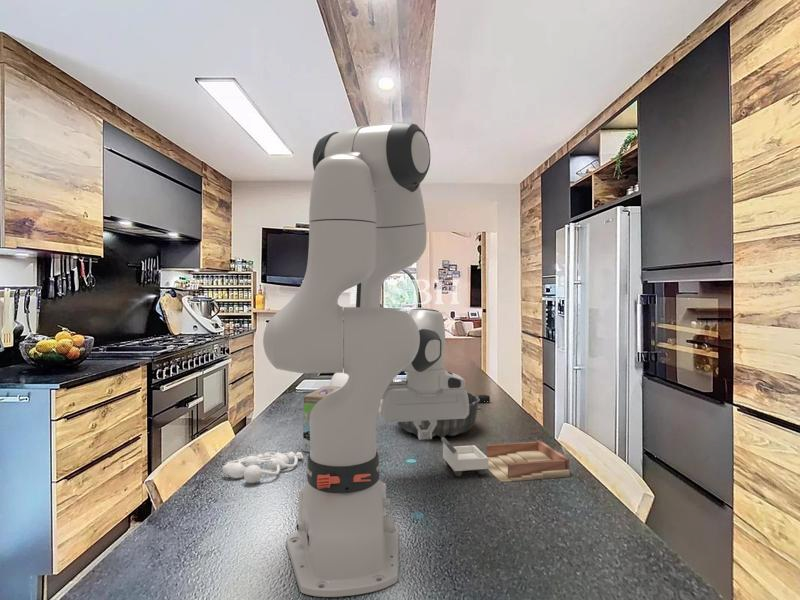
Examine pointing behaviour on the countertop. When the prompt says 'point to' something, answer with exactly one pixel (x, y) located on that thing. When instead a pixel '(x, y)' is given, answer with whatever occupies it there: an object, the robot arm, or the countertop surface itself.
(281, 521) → the countertop surface
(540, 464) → the dock
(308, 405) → the tea box
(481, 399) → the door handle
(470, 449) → the white tray with rod
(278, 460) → the tangled rod sculpture
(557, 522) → the countertop surface
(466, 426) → the bundt pan
